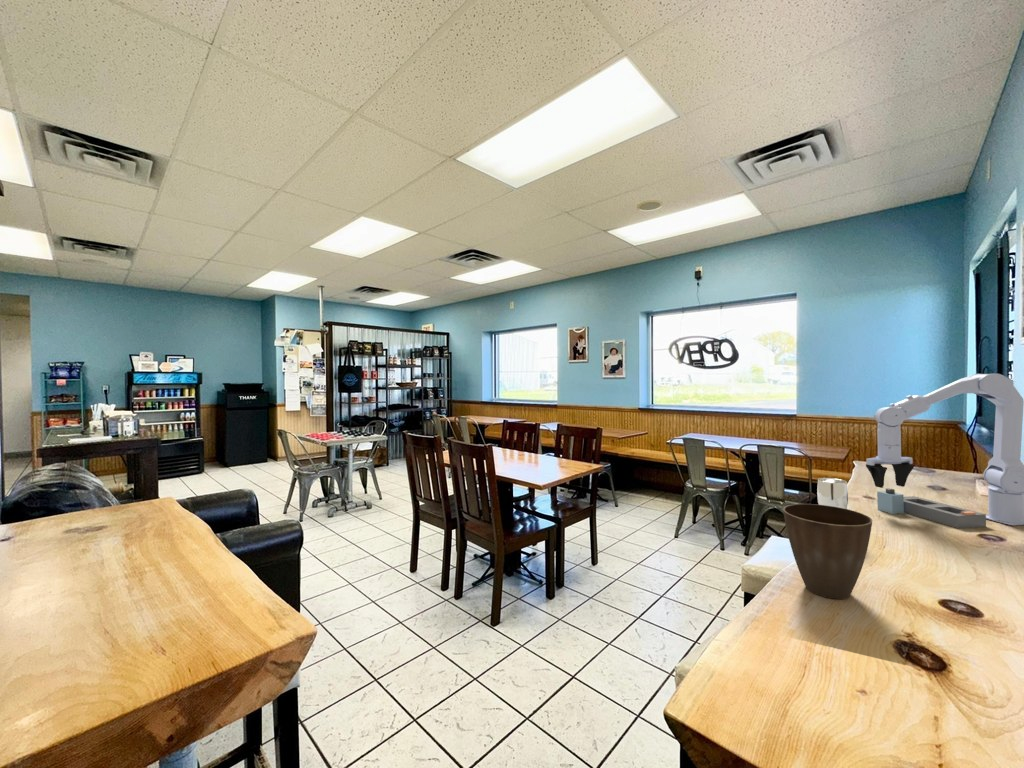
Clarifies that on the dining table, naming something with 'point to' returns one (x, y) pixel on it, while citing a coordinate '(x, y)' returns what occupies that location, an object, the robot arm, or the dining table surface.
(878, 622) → the dining table surface
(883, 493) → the plug
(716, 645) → the dining table surface
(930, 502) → the grey slotted tray
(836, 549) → the plant pot
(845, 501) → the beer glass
